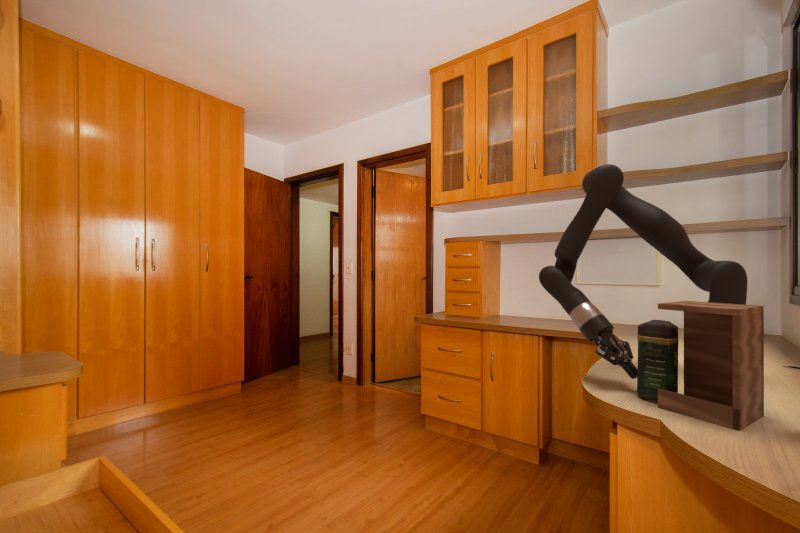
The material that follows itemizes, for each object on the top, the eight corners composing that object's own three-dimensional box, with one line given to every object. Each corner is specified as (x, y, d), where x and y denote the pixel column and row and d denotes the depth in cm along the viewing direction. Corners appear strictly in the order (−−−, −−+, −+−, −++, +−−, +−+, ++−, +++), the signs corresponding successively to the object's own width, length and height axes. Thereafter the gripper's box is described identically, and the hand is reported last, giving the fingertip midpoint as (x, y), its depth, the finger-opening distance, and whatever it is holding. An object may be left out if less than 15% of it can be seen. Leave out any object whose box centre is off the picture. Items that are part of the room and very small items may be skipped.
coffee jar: (674, 407, 83) (674, 324, 83) (633, 398, 89) (633, 320, 89) (681, 396, 90) (681, 319, 90) (643, 389, 95) (643, 316, 95)
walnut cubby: (685, 396, 90) (685, 300, 90) (763, 415, 78) (763, 305, 78) (657, 407, 83) (657, 303, 83) (739, 430, 71) (739, 309, 71)
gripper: (585, 314, 98) (634, 372, 87) (613, 311, 105) (661, 365, 94) (567, 331, 102) (611, 388, 92) (595, 328, 109) (639, 380, 99)
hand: (637, 376), depth 93 cm, fingers closed
